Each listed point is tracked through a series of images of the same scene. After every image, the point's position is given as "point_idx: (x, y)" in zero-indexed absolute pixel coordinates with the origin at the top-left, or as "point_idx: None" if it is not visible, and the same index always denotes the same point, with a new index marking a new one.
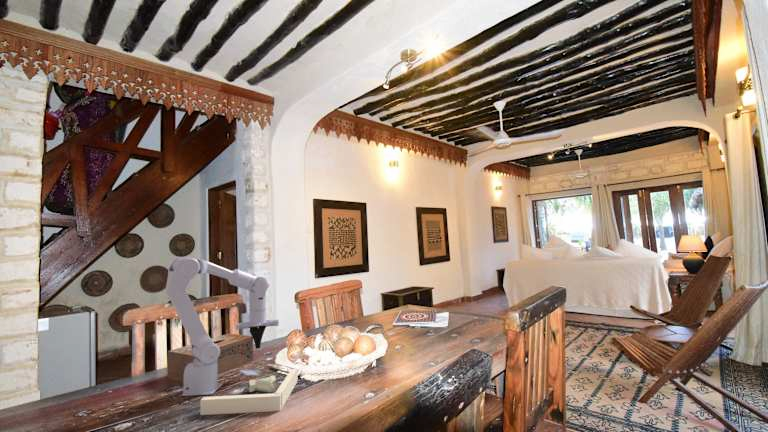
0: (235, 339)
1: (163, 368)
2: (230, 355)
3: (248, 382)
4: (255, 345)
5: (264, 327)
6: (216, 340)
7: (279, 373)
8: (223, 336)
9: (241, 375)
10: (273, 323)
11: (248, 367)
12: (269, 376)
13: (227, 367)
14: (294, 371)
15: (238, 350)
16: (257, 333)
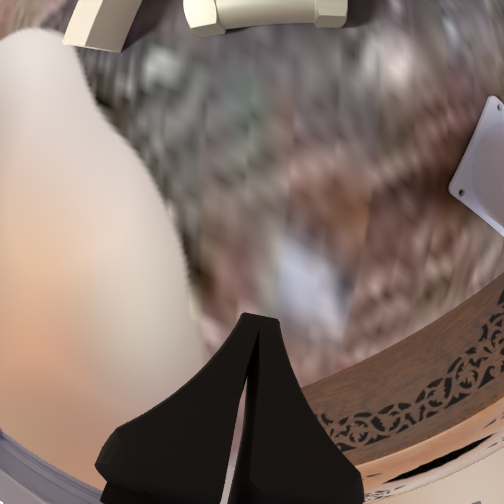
0: None
1: None
2: (385, 403)
3: (346, 12)
4: (280, 337)
5: (116, 489)
6: (411, 480)
7: (165, 190)
8: (370, 498)
9: (353, 268)
10: (8, 467)
11: (305, 347)
12: (215, 3)
13: (391, 358)
14: (80, 7)
15: (344, 428)
16: (239, 460)
